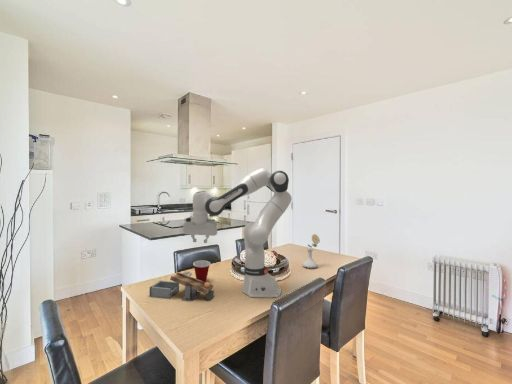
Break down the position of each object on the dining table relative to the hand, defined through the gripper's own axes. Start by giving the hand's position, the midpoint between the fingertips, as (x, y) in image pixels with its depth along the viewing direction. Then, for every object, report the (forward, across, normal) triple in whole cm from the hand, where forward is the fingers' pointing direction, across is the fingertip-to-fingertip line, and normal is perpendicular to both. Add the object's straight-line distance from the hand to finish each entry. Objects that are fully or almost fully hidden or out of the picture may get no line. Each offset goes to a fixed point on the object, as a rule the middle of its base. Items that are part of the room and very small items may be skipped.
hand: (200, 242), depth 149 cm
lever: (+21, 0, +8) cm, 22 cm away
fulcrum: (+27, 0, +11) cm, 29 cm away
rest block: (+27, -11, +11) cm, 31 cm away
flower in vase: (+27, -65, -56) cm, 90 cm away
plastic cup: (+27, +3, -10) cm, 29 cm away
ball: (+20, -9, +11) cm, 25 cm away
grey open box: (+27, +16, +11) cm, 33 cm away
